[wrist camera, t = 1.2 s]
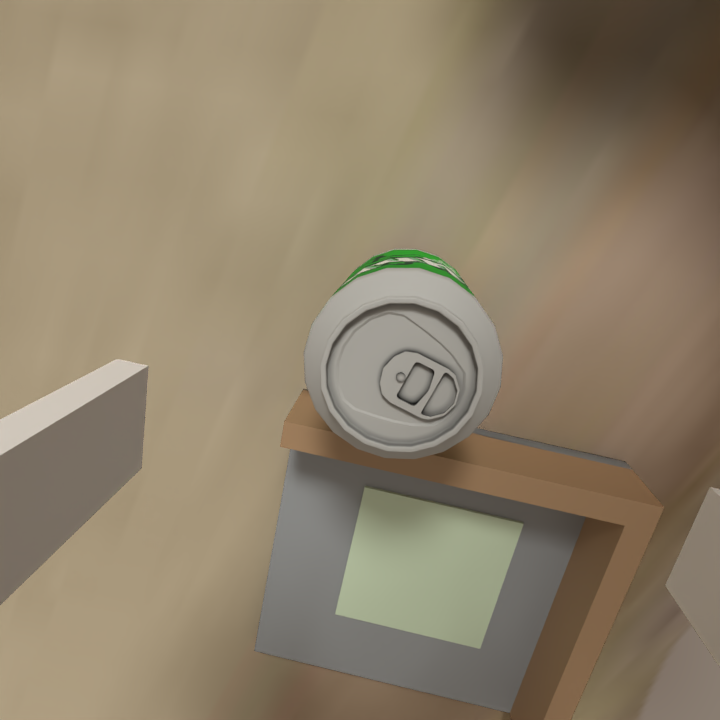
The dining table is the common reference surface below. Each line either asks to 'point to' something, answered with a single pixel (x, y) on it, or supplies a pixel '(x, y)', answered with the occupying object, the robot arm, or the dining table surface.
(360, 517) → the pad
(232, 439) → the dining table surface
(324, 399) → the soda can
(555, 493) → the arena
